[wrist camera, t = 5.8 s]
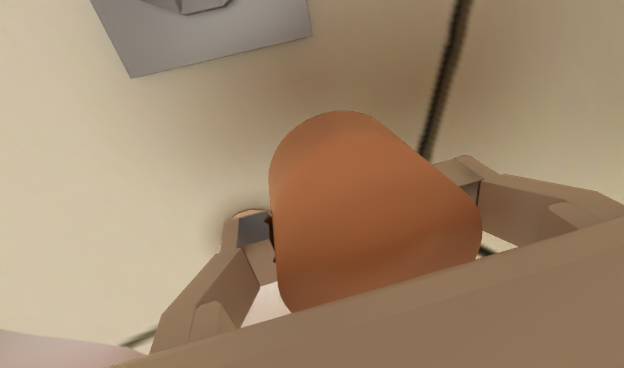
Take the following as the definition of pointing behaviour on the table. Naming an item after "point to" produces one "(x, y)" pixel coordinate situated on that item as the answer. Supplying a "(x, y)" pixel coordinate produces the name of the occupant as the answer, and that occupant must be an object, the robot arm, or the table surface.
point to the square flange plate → (196, 29)
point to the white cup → (264, 297)
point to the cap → (361, 211)
